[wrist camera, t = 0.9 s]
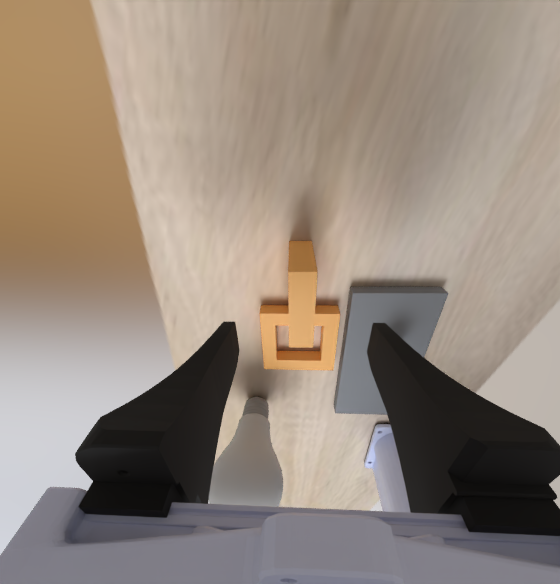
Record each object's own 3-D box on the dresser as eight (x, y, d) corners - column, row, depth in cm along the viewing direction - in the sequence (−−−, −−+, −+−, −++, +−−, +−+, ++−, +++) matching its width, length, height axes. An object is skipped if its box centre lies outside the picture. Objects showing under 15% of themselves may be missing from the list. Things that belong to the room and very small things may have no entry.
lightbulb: (225, 380, 26) (188, 514, 17) (283, 379, 26) (278, 517, 16) (235, 415, 29) (207, 544, 20) (286, 415, 29) (284, 547, 19)
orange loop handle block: (331, 360, 24) (339, 407, 20) (265, 359, 24) (259, 405, 20) (345, 240, 18) (361, 271, 13) (256, 241, 18) (244, 272, 14)
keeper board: (398, 406, 27) (421, 461, 22) (333, 404, 27) (342, 459, 23) (441, 286, 19) (489, 333, 15) (350, 286, 20) (368, 332, 15)
